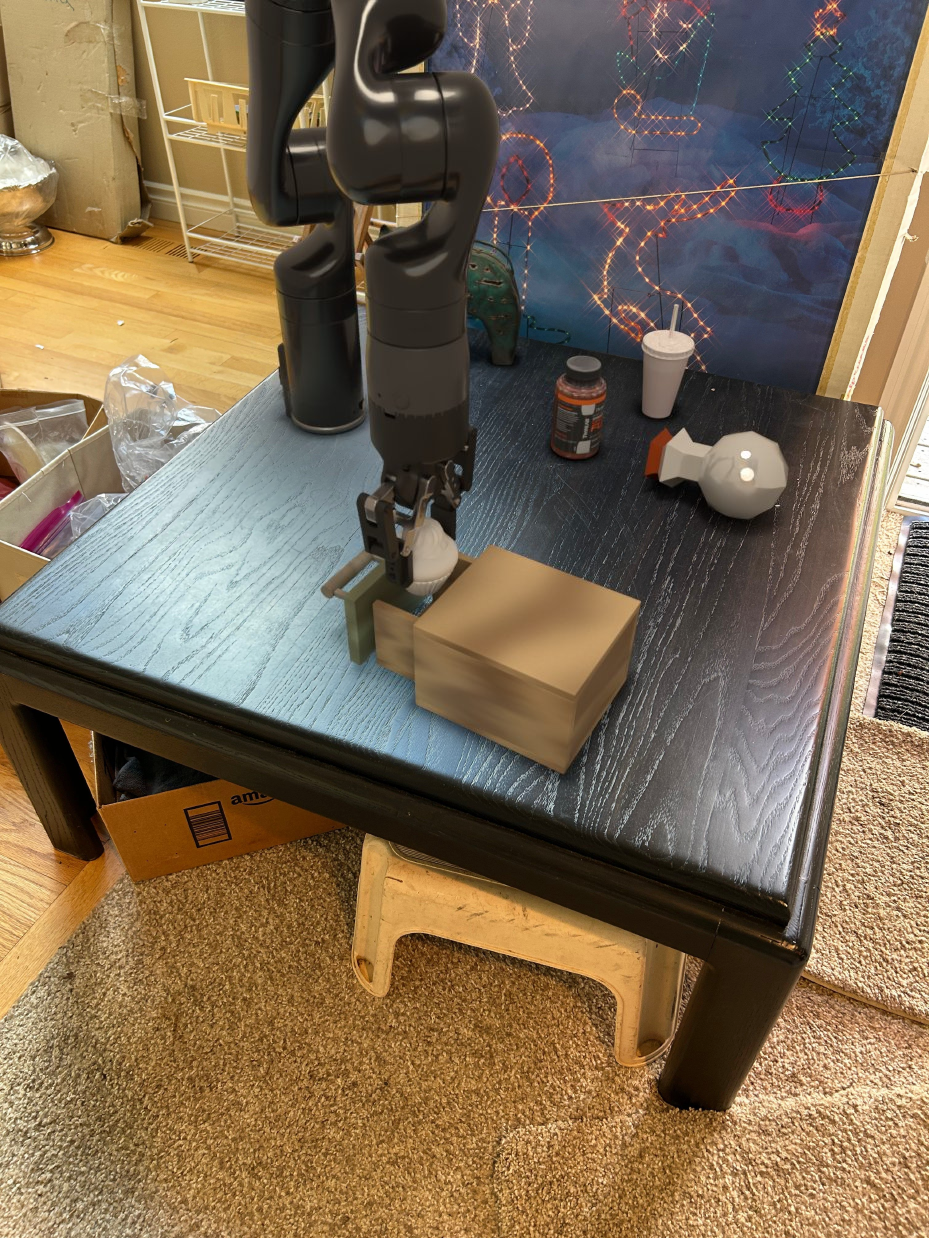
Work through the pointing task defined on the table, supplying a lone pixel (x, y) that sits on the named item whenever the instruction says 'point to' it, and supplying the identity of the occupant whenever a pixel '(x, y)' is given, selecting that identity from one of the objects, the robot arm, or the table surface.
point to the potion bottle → (723, 470)
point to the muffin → (431, 558)
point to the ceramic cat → (491, 297)
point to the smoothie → (664, 368)
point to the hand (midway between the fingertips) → (422, 561)
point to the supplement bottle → (578, 409)
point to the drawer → (382, 612)
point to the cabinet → (524, 655)
